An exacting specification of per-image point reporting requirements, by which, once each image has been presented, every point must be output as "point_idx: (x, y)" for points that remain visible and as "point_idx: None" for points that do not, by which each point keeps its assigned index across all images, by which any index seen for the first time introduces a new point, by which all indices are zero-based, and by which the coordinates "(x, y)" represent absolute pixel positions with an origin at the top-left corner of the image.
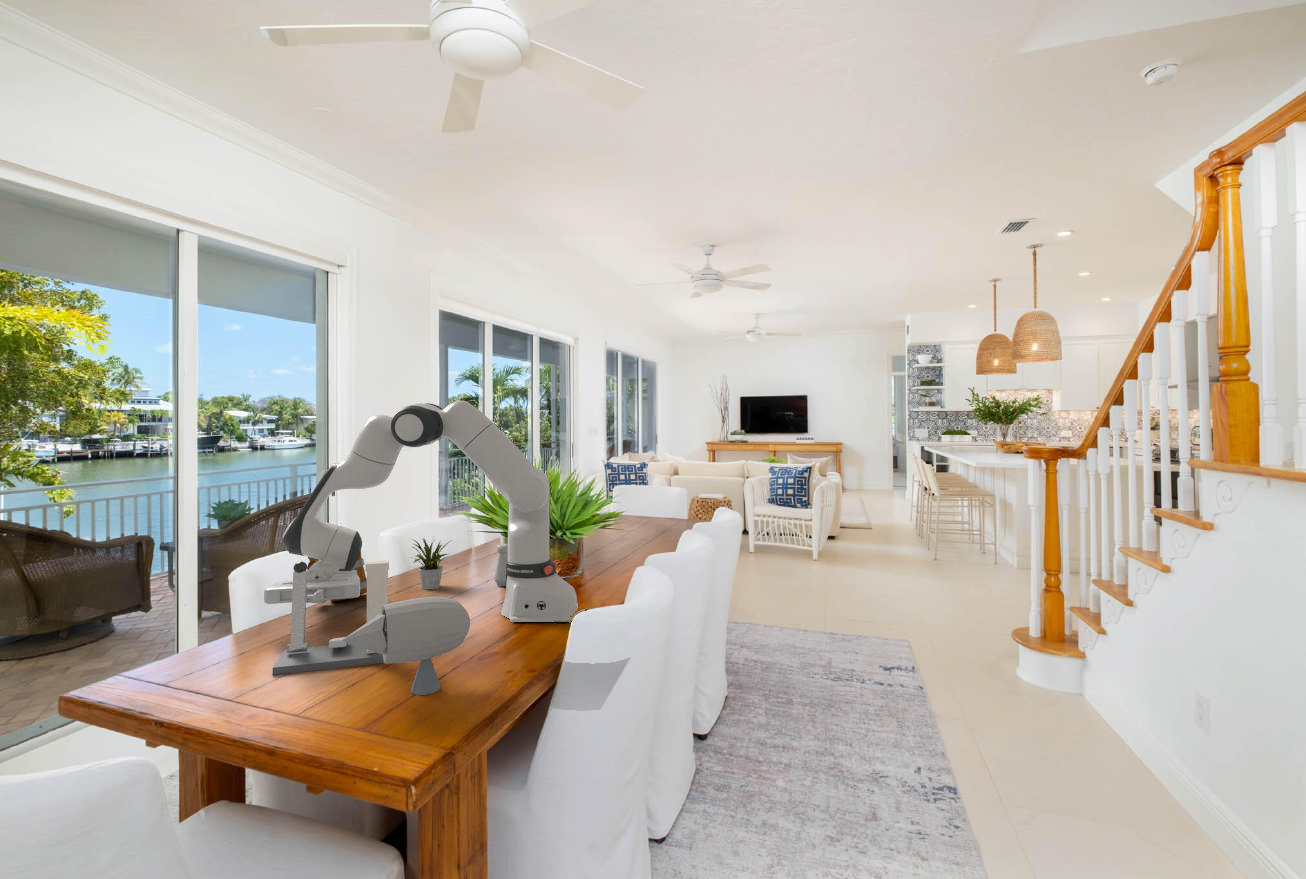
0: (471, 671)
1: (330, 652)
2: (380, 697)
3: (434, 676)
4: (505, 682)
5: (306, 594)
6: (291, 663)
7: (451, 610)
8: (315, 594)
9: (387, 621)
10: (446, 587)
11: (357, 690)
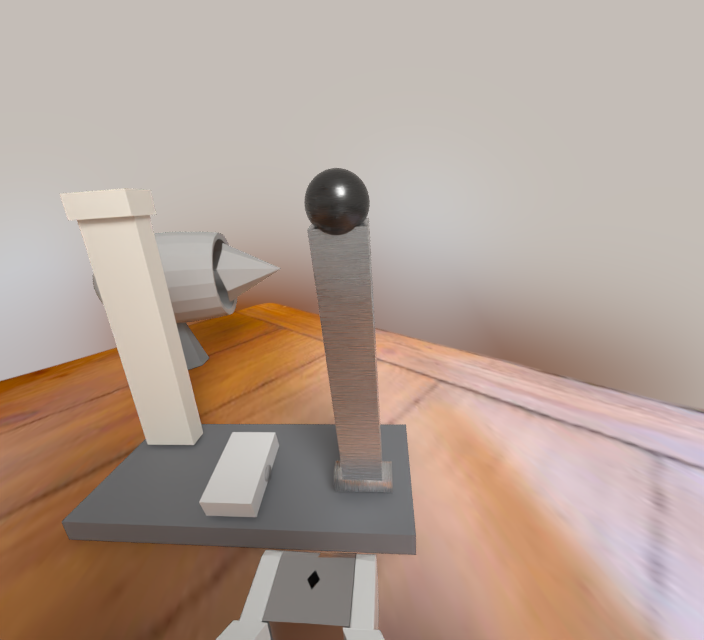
0: (97, 384)
1: (275, 471)
2: (245, 357)
3: None
4: (101, 359)
5: (334, 594)
6: None
7: None
8: (261, 558)
9: (227, 244)
10: None
11: (264, 372)
